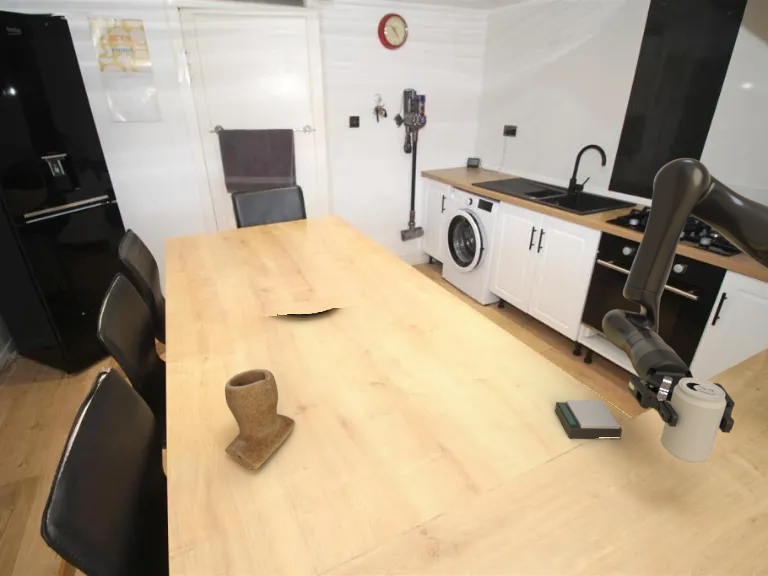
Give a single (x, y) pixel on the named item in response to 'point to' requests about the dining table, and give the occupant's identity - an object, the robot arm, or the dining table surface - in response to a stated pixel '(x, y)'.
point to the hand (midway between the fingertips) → (701, 424)
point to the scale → (587, 419)
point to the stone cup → (255, 417)
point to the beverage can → (694, 419)
